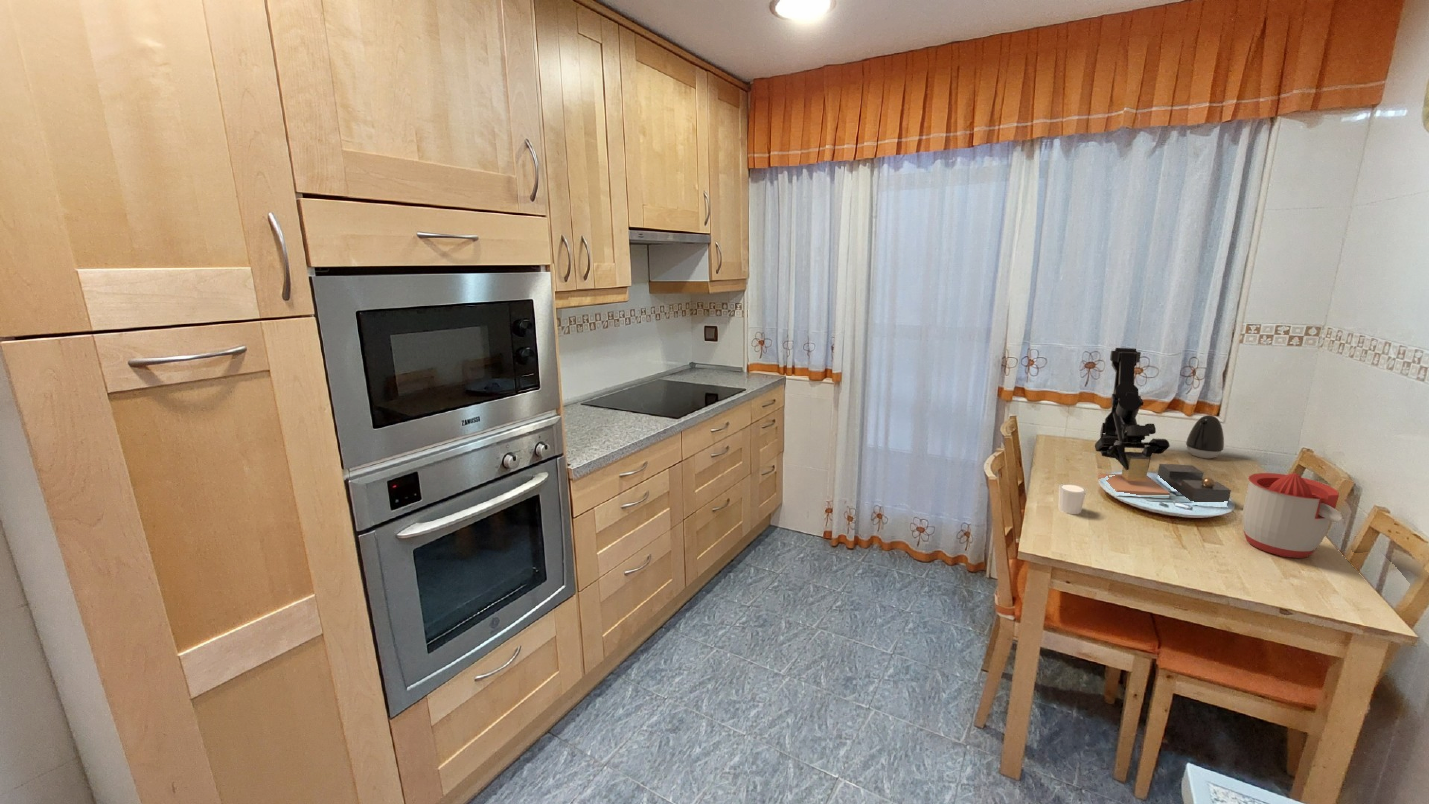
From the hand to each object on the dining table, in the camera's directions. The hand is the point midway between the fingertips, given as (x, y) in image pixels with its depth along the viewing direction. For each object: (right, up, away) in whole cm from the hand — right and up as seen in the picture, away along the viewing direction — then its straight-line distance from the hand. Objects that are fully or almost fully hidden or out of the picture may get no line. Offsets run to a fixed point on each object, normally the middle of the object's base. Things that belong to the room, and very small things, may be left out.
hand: (1137, 469), depth 175 cm
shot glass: (-27, -11, -10) cm, 31 cm away
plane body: (+15, -7, -2) cm, 17 cm away
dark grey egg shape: (+44, +2, +27) cm, 52 cm away
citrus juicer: (+10, -16, -34) cm, 39 cm away
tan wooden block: (0, -3, +2) cm, 4 cm away
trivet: (+1, -6, +3) cm, 7 cm away
